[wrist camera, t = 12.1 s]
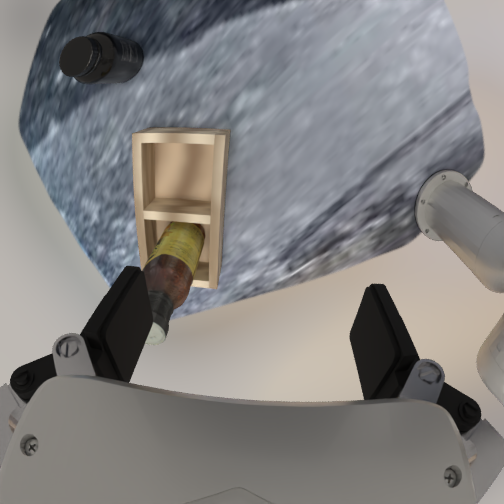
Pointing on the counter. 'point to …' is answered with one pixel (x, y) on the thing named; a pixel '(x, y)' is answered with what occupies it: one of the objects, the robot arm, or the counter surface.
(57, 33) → the counter surface
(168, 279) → the sauce bottle
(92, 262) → the counter surface
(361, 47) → the counter surface
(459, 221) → the robot arm
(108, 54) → the supplement bottle
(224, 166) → the rail
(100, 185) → the counter surface
